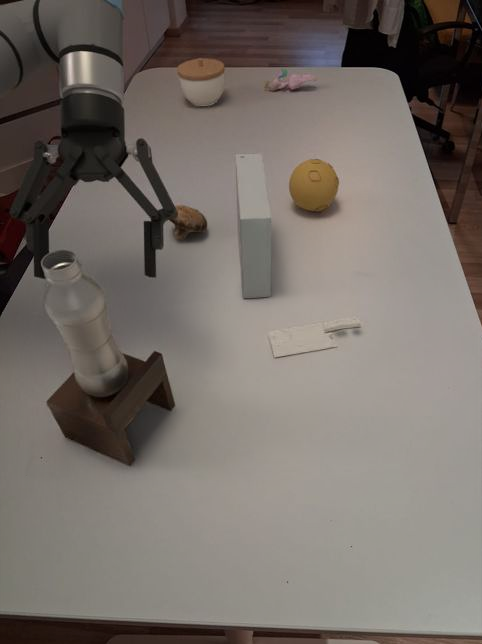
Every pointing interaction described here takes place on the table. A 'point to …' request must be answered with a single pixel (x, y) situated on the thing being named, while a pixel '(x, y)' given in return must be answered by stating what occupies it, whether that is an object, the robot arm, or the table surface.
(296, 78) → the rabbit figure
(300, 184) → the stress ball
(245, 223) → the skincare box
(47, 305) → the plastic bottle
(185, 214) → the mushroom
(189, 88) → the lidded bowl
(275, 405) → the table surface
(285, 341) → the white meat cleaver
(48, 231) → the robot arm
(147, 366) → the shelf
